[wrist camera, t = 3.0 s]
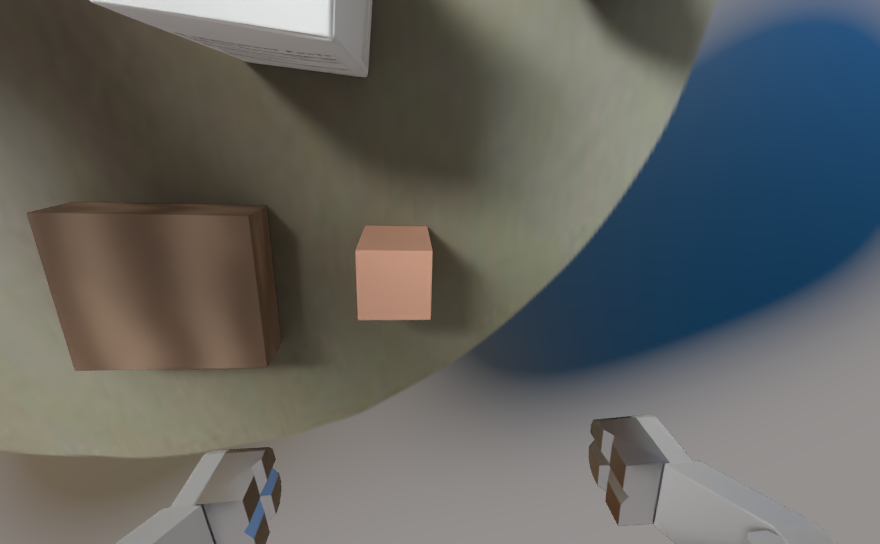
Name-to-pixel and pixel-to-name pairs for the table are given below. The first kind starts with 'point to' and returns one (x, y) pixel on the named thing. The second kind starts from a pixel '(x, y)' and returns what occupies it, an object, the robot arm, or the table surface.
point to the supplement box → (267, 29)
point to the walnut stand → (161, 284)
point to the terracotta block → (394, 273)
